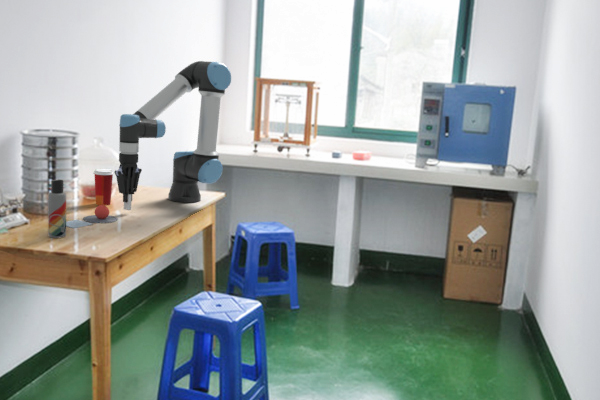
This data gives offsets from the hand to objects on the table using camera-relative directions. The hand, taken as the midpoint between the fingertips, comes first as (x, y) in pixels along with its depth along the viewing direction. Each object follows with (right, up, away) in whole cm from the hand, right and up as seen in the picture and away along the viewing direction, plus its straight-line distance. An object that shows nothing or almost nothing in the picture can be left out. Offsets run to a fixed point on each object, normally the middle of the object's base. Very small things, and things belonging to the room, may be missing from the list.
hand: (127, 209), depth 248 cm
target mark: (-7, -4, -12) cm, 14 cm away
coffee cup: (-15, +2, +14) cm, 21 cm away
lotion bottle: (-13, -9, -39) cm, 42 cm away
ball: (-7, -1, -11) cm, 13 cm away
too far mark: (-13, -5, -22) cm, 26 cm away
